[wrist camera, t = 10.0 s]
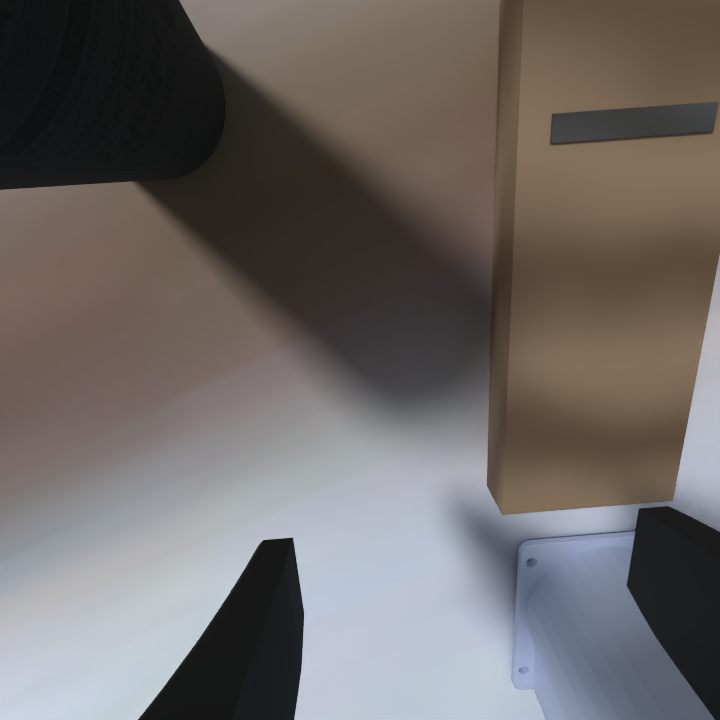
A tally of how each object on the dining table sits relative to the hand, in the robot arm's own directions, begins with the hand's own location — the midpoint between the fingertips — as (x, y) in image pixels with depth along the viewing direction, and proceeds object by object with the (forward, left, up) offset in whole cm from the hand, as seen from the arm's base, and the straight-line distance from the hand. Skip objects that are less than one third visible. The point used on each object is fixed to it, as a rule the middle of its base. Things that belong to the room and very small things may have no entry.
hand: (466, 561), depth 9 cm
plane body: (+4, -7, -9) cm, 12 cm away
